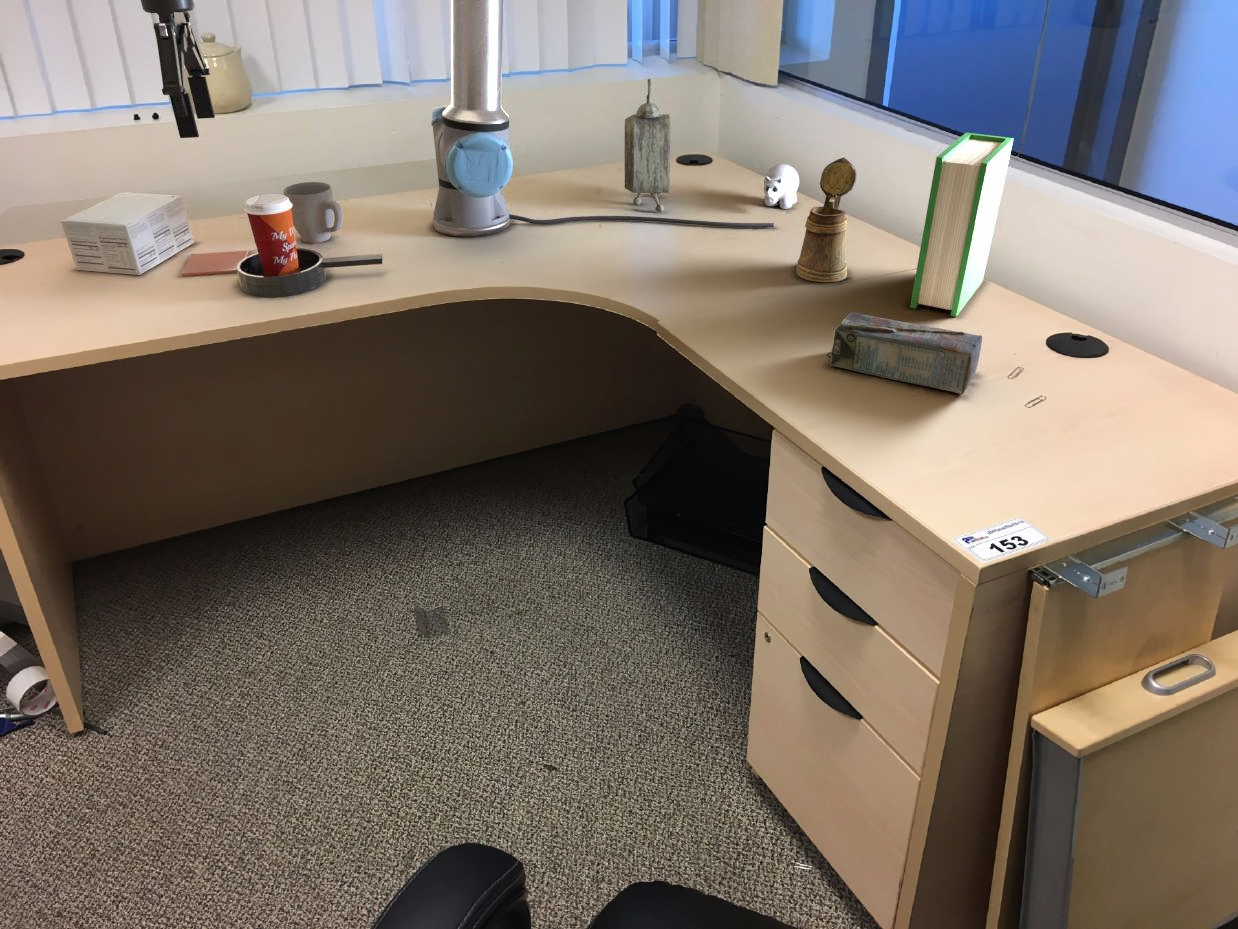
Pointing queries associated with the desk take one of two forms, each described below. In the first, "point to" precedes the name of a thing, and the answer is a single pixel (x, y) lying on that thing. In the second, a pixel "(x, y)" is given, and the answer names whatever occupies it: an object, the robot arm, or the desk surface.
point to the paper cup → (273, 233)
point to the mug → (314, 210)
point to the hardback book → (960, 220)
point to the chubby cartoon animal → (781, 186)
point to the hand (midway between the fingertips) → (198, 127)
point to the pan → (283, 285)
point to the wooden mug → (827, 228)
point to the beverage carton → (906, 352)
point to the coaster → (213, 263)
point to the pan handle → (352, 261)
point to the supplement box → (128, 233)
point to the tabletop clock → (647, 151)
